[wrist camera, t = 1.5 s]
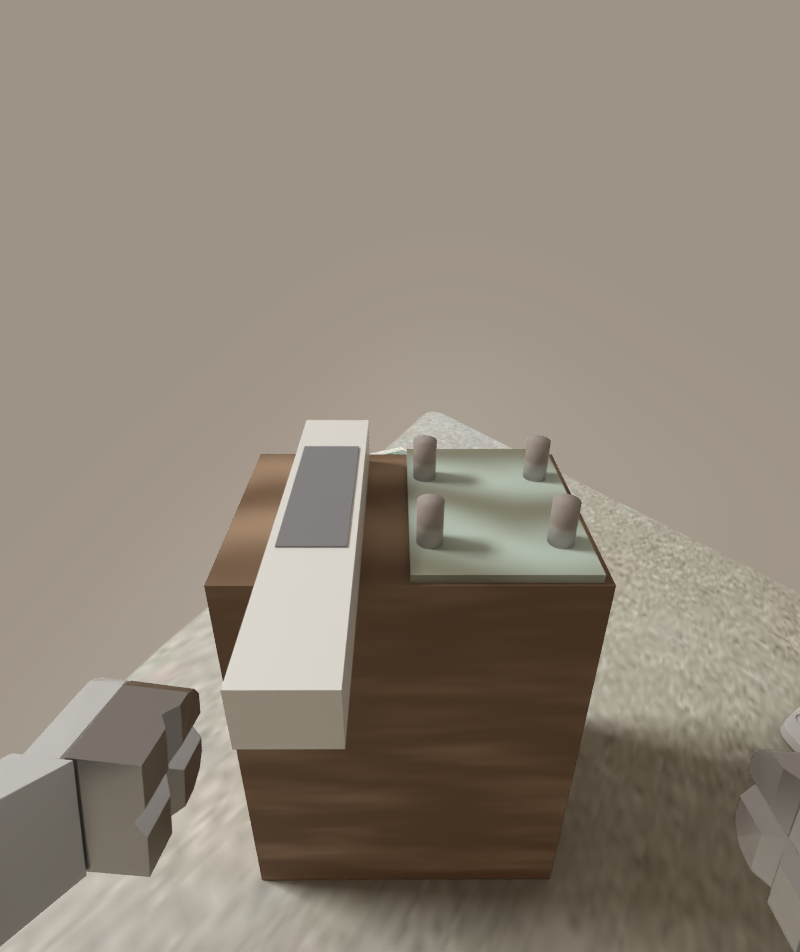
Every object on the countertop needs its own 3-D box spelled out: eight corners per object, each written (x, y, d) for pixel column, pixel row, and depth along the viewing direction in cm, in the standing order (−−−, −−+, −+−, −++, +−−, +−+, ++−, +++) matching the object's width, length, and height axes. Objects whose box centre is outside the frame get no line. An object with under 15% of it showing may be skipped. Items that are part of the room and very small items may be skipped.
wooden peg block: (292, 712, 54) (256, 414, 40) (515, 712, 54) (557, 414, 40) (262, 879, 42) (194, 534, 28) (549, 878, 42) (627, 534, 28)
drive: (309, 461, 41) (306, 418, 39) (369, 461, 41) (368, 418, 39) (232, 749, 21) (220, 688, 20) (345, 749, 22) (341, 688, 20)
